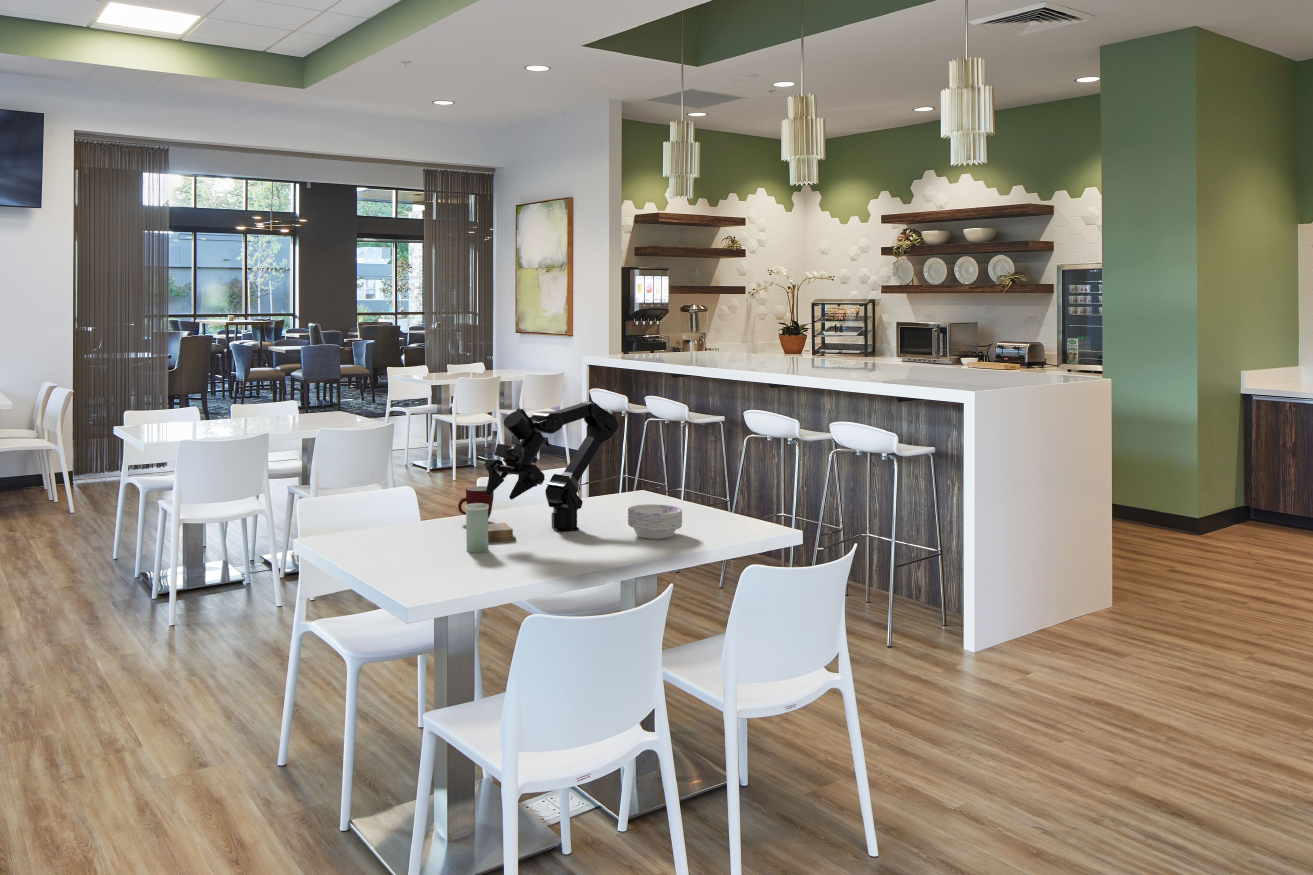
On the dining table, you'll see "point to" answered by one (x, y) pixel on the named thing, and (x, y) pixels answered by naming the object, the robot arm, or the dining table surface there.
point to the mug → (477, 498)
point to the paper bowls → (654, 520)
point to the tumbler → (477, 527)
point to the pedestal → (500, 533)
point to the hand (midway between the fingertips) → (498, 496)
